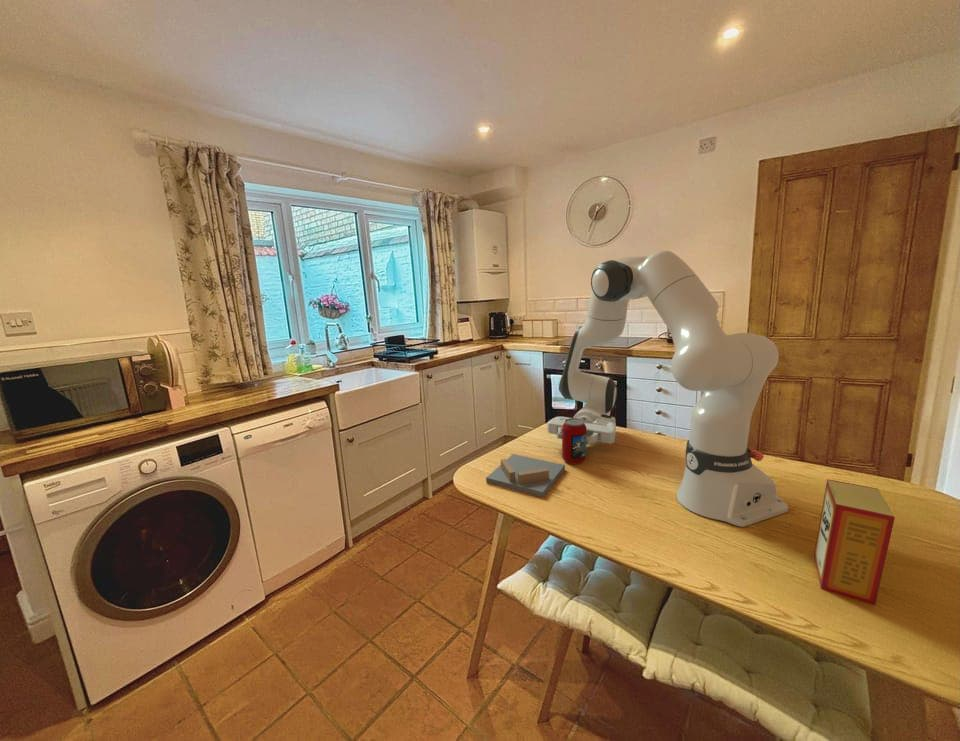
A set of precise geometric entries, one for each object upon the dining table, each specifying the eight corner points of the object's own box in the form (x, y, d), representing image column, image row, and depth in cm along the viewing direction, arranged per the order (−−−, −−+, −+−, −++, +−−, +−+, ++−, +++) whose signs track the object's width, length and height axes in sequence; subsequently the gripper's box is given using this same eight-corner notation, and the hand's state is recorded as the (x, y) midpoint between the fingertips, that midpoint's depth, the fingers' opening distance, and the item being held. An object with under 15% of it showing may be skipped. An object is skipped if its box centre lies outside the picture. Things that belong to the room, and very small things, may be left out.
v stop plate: (513, 458, 117) (512, 446, 116) (564, 469, 109) (564, 456, 108) (486, 482, 104) (485, 468, 103) (542, 497, 96) (542, 482, 95)
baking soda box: (813, 555, 73) (827, 477, 69) (861, 568, 70) (878, 486, 66) (821, 588, 66) (836, 503, 62) (875, 605, 62) (895, 515, 58)
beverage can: (580, 467, 110) (580, 427, 107) (558, 461, 114) (558, 422, 111) (589, 458, 115) (590, 420, 113) (568, 453, 119) (568, 415, 117)
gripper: (555, 409, 128) (539, 423, 117) (620, 418, 118) (609, 434, 107) (555, 427, 130) (539, 442, 118) (619, 437, 119) (608, 455, 108)
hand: (573, 438), depth 112 cm, fingers closed on beverage can, 7 cm apart
